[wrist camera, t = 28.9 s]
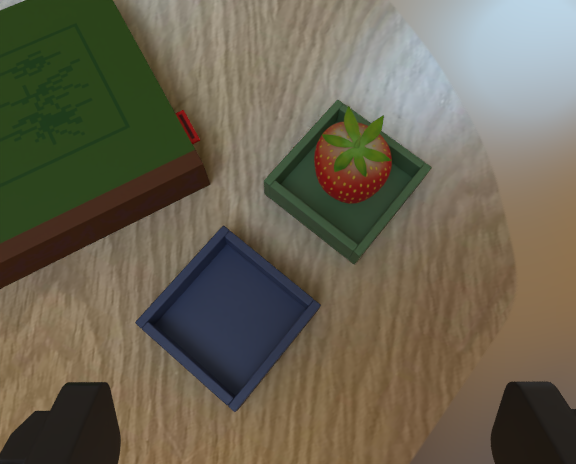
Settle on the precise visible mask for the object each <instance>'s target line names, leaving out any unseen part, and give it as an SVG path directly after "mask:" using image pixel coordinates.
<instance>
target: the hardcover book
mask: <svg viewBox="0 0 576 464" xmlns="http://www.w3.org/2000/svg"><path fill="white" fill-rule="evenodd" d="M198 141H200V139H199V137H198V135H197V133H196V132H195V130H194V128H193V126H192V124H191V123H190V121H189V119H188V117H187V115H186V114H185V112H184V110H182V111H180V112H177V113H175V112H174V110H173V108H172V107H171V105H170V103H169V101H168V99H167V98H166V96H165V94H164V92H163V90H162V89H161V87H160V85H159V83H158V81H157V79H156V78H155V76H154V74H153V72H152V70H151V69H150V67H149V65H148V63H147V61H146V59H145V58H144V56H143V54H142V52H141V50H140V49H139V47H138V45H137V43H136V41H135V40H134V38H133V36H132V34H131V32H130V30H129V29H128V27H127V25H126V23H125V21H124V20H123V18H122V16H121V14H120V12H119V10H118V9H117V7H116V5H115V3H114V1H113V0H25V1H23V2H20V3H18V4H15V5H13V6H10V7H8V8H5V9H3V10H0V289H1V288H3V287H5V286H7V285H9V284H11V283H13V282H15V281H17V280H19V279H21V278H23V277H25V276H27V275H29V274H31V273H33V272H35V271H37V270H39V269H41V268H43V267H45V266H47V265H49V264H51V263H53V262H55V261H57V260H59V259H61V258H63V257H65V256H67V255H69V254H71V253H73V252H75V251H77V250H79V249H81V248H83V247H85V246H87V245H89V244H91V243H93V242H95V241H97V240H99V239H101V238H103V237H105V236H107V235H109V234H111V233H113V232H115V231H117V230H119V229H121V228H123V227H125V226H127V225H129V224H131V223H133V222H135V221H137V220H139V219H141V218H143V217H145V216H147V215H150V214H152V213H154V212H156V211H158V210H160V209H162V208H164V207H166V206H168V205H170V204H172V203H174V202H176V201H178V200H180V199H182V198H184V197H186V196H188V195H190V194H192V193H194V192H196V191H198V190H200V189H202V188H204V187H206V186H208V185H210V182H209V179H208V176H207V174H206V171H205V168H204V165H203V163H202V161H201V159H200V157H199V156H198V154H197V152H196V150H195V148H194V147H193V145H192V144H194V143H196V142H198Z"/></svg>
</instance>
